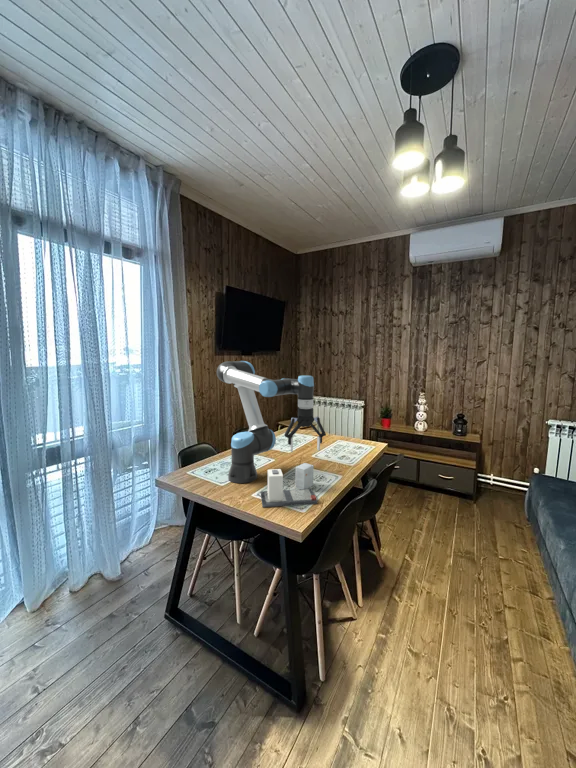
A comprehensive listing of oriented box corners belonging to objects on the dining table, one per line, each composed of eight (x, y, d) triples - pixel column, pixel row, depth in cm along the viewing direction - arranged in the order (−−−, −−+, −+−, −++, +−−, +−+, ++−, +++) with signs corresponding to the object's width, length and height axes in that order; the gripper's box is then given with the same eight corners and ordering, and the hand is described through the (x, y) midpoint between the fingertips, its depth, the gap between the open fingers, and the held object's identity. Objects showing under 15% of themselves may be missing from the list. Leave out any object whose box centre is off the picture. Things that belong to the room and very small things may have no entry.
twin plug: (269, 500, 133) (269, 475, 132) (267, 492, 141) (267, 468, 140) (282, 500, 134) (283, 474, 133) (280, 491, 142) (280, 467, 141)
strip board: (262, 507, 131) (262, 502, 131) (260, 494, 143) (260, 489, 143) (317, 503, 135) (317, 498, 135) (311, 491, 147) (311, 486, 146)
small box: (304, 482, 157) (304, 462, 156) (313, 485, 154) (313, 465, 152) (294, 487, 151) (295, 466, 150) (304, 490, 147) (304, 469, 146)
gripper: (281, 409, 143) (280, 454, 145) (332, 408, 147) (331, 451, 149) (278, 406, 150) (278, 449, 152) (328, 405, 154) (327, 447, 156)
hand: (305, 450), depth 150 cm, fingers open, 13 cm apart
